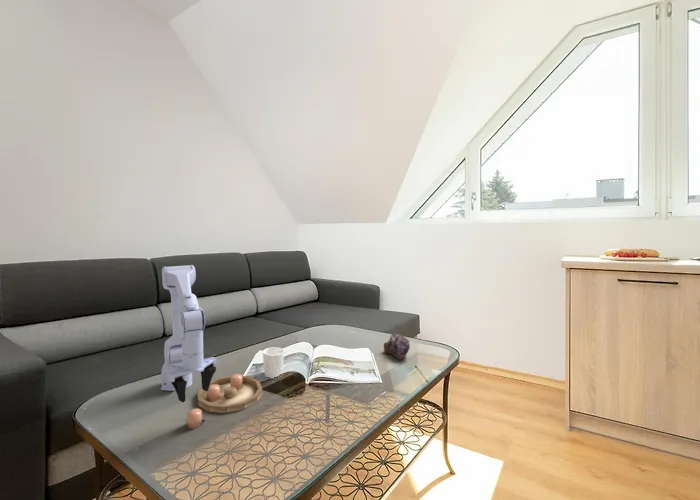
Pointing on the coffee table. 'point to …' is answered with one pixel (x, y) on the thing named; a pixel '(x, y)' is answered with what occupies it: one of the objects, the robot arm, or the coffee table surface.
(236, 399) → the ring tray
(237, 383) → the bead
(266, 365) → the white cup
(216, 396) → the bead
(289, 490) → the coffee table surface
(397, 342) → the rock
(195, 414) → the bead
